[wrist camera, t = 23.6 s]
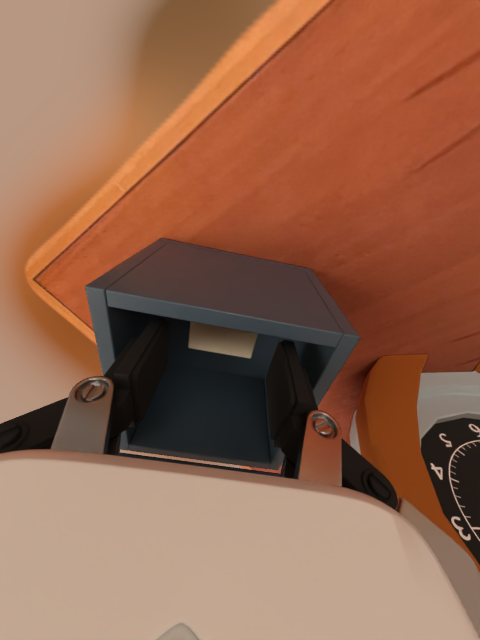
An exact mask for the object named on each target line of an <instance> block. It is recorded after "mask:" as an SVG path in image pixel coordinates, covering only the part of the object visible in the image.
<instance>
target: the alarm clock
mask: <svg viewBox="0 0 480 640" xmlns="http://www.w3.org/2000/svg"><path fill="white" fill-rule="evenodd" d="M427 357H428V355H427V354H414V355H386V356H384V357H381V358H379V359H378V361H377V362H376V363H375V364H374V366H373V367H372V368H371V370H370V371H369V373H368V374H367V375H366V378H365V381H364V384H363V387H362V390H361V393H360V397H359V402H358V406H357V409H356V410H355V412H354V414H353V417H352V420H351V423H350V428H349V432H348V437H347V443H348V444H349V445H350V446H351V447H352V448H354V449H355V450H356V451H357V452H358V453H359V454H360V455H362V456H363V457H364V458H365V459H366V460H367V461H369V462H370V463H371V464H372V465H373V466H374V467H375V468H377V469H378V470H379V471H380V472H381V473H382V474H383V475H384V476H385V477H386V478H387V479H388V480H389V481H390V483H391V484H392V485H393V487H394V489H395V491H396V494H397V496H398V497H399V498H402V497H404V498H405V499H406V500H407V501H409V502H410V503H411V504H412V505H413V506H414V507H416V508H417V509H418V510H419V511H420V512H421V513H423V514H424V515H425V516H426V517H427V518H428V519H430V520H431V521H432V522H433V523H434V524H436V525H437V526H438V527H439V528H440V529H441V530H443V531H444V532H445V533H446V534H447V535H448V536H450V537H451V538H452V539H453V540H454V541H455V542H457V543H458V544H459V545H460V546H461V547H462V548H463V549H464V550H465V551H466V552H467V553H468V555H469V556H470V557H471V559H472V560H473V561H474V563H475V565H476V567H477V569H478V571H479V573H480V363H479V364H478V366H477V367H476V369H475V370H474V371H472V372H437V373H422V370H423V368H424V365H425V362H426V360H427Z"/></svg>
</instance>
